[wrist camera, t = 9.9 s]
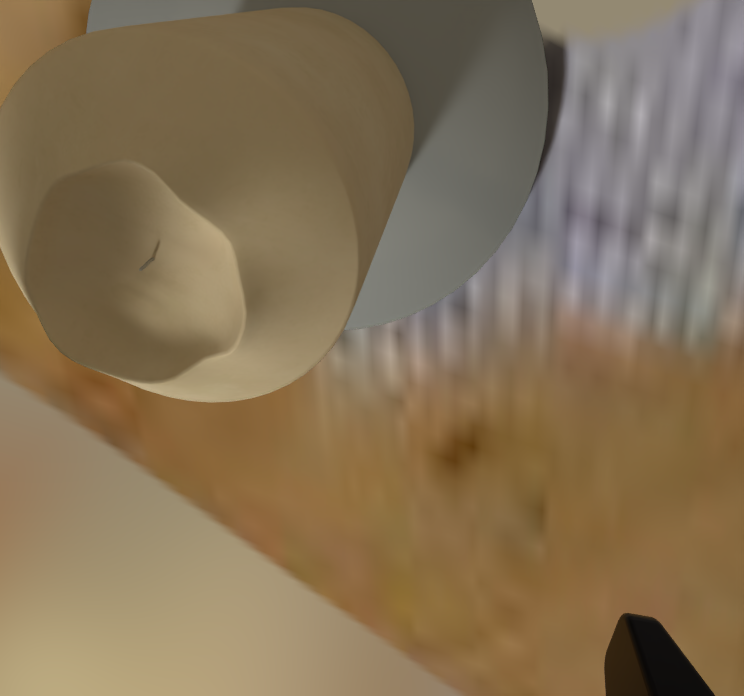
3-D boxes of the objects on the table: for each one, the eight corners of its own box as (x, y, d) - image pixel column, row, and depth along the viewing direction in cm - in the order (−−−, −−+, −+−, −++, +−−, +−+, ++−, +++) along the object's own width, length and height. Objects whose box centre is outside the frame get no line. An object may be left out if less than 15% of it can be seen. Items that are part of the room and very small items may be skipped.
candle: (247, -40, 15) (-80, -74, 6) (456, 76, 15) (425, 193, 7) (181, 172, 17) (-109, 353, 9) (360, 263, 18) (251, 517, 9)
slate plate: (591, -159, 13) (597, -167, 13) (507, 337, 19) (508, 351, 19) (60, -171, 15) (39, -179, 14) (134, 298, 21) (122, 309, 20)
